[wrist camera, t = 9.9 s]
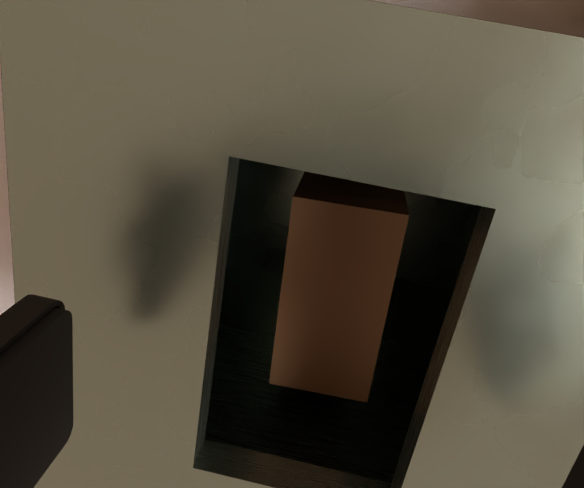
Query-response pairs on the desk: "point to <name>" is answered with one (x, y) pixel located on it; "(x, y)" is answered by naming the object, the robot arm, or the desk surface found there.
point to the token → (337, 284)
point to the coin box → (274, 232)
